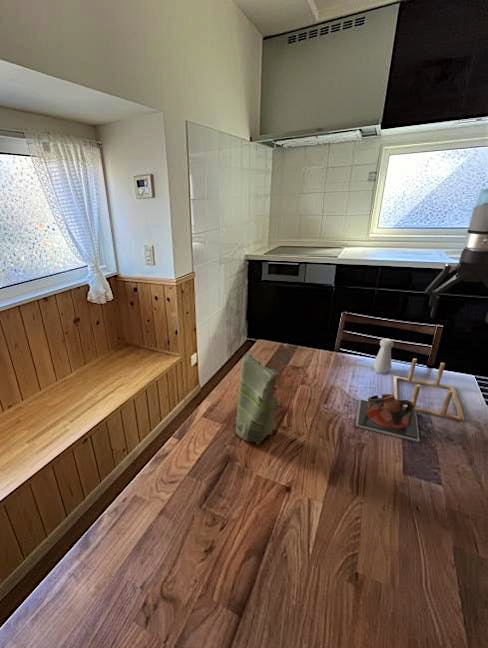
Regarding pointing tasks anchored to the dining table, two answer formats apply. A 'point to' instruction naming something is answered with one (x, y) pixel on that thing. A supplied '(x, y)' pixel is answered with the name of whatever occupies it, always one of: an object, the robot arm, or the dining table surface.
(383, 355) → the salt shaker
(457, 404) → the drying rack
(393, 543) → the dining table surface
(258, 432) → the pouch
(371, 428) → the hob
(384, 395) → the pottery mug
